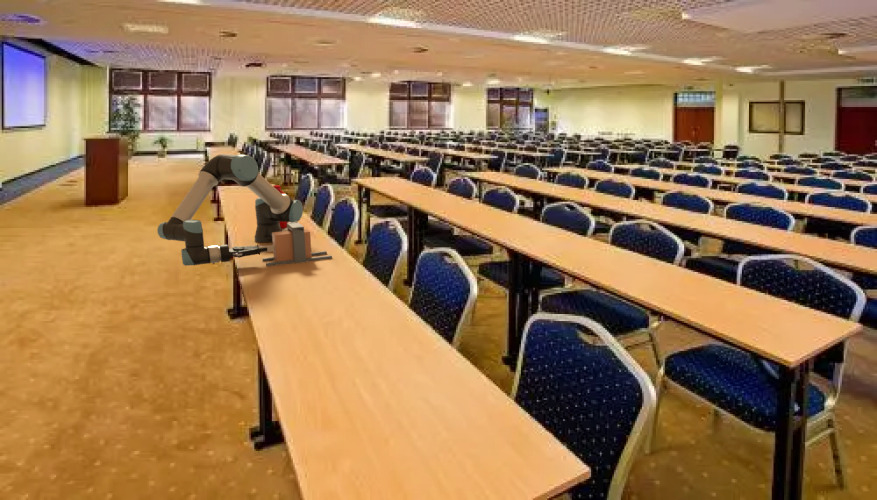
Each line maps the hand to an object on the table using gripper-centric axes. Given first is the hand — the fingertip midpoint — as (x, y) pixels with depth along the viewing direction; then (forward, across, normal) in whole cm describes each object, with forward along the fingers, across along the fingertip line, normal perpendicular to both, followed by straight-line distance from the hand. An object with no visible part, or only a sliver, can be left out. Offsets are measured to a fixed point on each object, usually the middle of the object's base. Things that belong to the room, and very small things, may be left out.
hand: (274, 247), depth 279 cm
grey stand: (+10, -1, -7) cm, 13 cm away
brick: (+8, -1, -7) cm, 11 cm away
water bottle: (+18, -81, -7) cm, 84 cm away
